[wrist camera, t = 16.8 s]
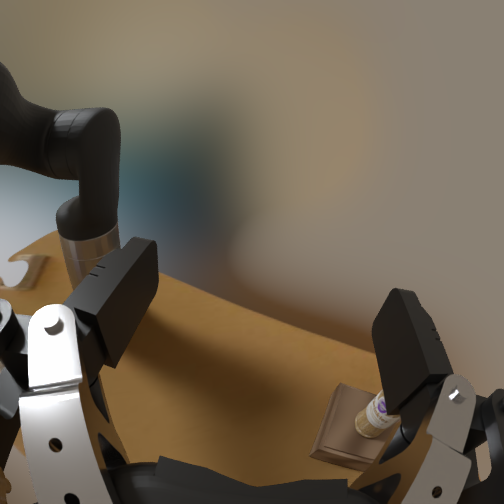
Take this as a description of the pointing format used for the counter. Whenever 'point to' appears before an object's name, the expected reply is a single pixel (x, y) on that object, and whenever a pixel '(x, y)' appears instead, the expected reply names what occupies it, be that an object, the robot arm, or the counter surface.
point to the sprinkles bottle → (374, 418)
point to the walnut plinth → (347, 431)
